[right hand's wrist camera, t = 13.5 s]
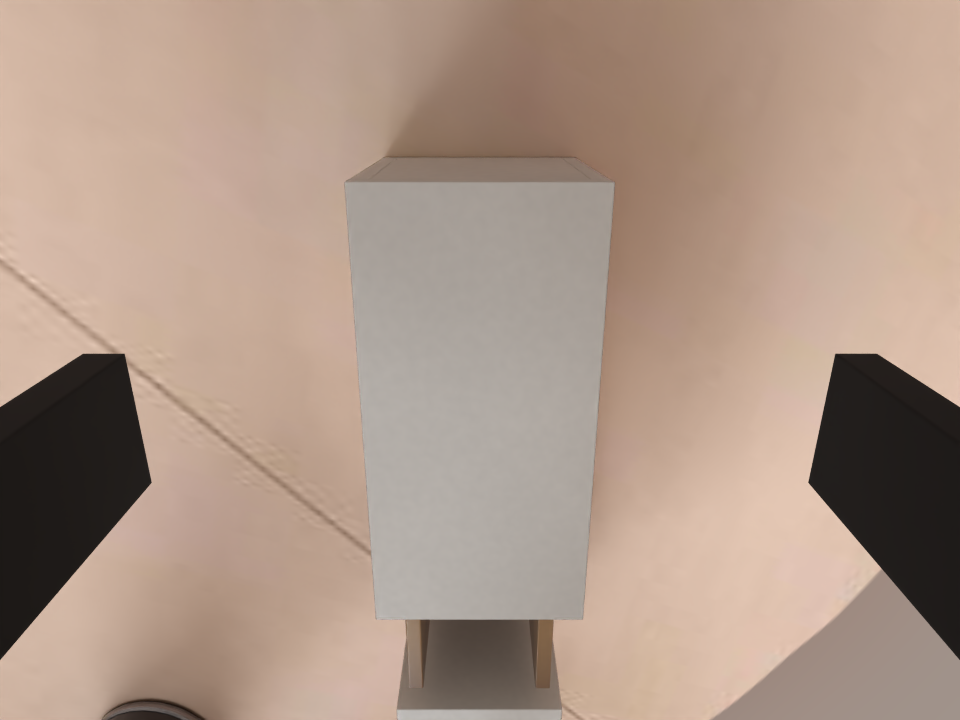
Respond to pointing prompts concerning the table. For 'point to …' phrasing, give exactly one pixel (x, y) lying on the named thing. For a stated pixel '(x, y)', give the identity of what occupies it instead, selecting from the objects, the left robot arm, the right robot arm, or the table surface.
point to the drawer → (479, 671)
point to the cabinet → (479, 379)
